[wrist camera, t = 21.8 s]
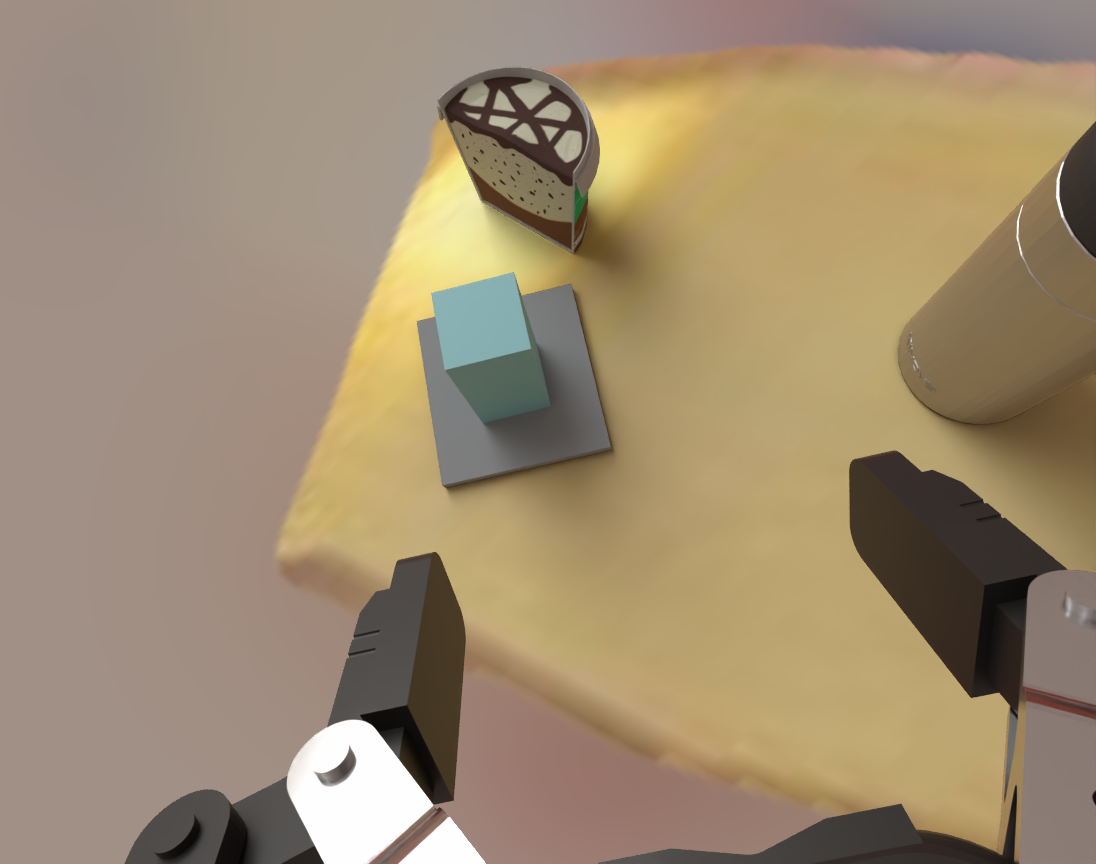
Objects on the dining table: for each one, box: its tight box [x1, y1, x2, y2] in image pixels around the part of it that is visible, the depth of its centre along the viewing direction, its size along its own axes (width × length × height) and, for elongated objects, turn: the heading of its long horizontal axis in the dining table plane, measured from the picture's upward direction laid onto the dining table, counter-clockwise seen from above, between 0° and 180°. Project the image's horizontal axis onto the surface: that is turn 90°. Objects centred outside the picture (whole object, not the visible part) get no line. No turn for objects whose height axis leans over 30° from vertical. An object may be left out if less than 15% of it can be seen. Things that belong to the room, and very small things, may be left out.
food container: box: [437, 66, 600, 254], centre depth 46 cm, size 12×6×10 cm, turn 53°
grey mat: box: [417, 284, 611, 488], centre depth 46 cm, size 12×13×1 cm
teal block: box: [431, 272, 551, 423], centre depth 41 cm, size 5×5×10 cm
